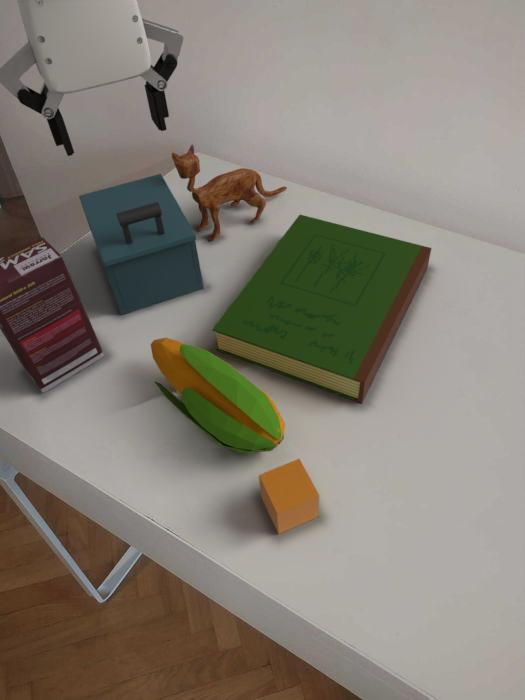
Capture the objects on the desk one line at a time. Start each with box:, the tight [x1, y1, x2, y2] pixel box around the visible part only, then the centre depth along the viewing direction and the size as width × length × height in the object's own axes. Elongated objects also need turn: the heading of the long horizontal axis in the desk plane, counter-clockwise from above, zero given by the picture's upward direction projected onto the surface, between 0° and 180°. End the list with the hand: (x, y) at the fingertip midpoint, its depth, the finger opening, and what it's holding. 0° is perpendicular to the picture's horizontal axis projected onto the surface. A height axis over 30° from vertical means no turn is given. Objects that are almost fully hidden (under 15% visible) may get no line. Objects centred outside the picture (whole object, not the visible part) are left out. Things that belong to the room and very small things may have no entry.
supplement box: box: [0, 236, 105, 394], centre depth 63 cm, size 9×5×16 cm, turn 130°
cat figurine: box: [171, 144, 288, 242], centre depth 82 cm, size 18×7×14 cm, turn 127°
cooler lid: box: [78, 173, 197, 267], centre depth 72 cm, size 15×11×5 cm
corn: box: [150, 337, 286, 454], centre depth 61 cm, size 7×8×20 cm
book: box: [211, 214, 432, 404], centre depth 72 cm, size 25×19×4 cm
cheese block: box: [258, 458, 320, 535], centre depth 54 cm, size 4×4×4 cm
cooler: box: [80, 202, 204, 316], centre depth 77 cm, size 14×11×9 cm
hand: (114, 137), depth 59 cm, fingers open, 9 cm apart
